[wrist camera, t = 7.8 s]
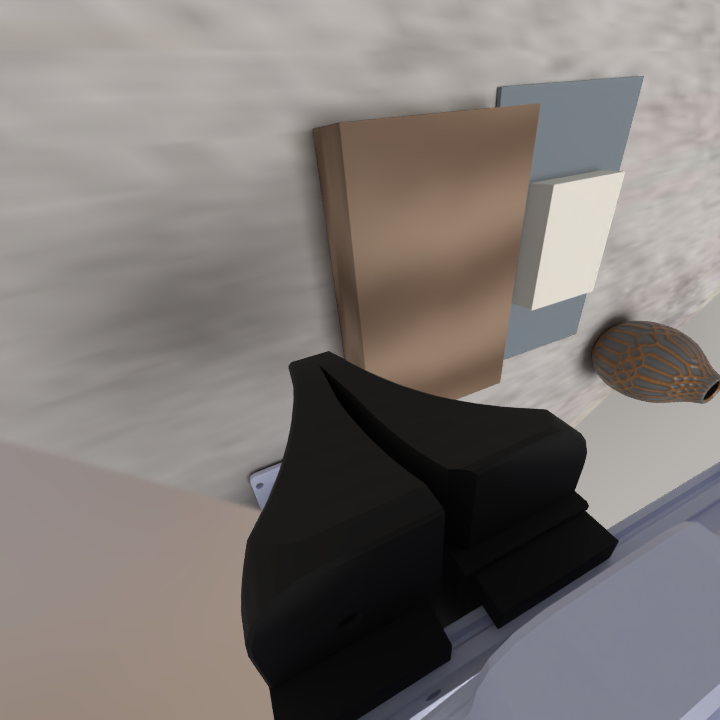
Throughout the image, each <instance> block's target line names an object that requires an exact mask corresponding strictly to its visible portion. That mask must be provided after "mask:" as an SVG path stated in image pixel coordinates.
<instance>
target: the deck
mask: <svg viewBox="0 0 720 720" xmlns="http://www.w3.org/2000/svg"><path fill="white" fill-rule="evenodd" d="M540 104H541V103H537V104H526V105H516V106H506V107H495V108H485V109H474V110H464V111H454V112H443V113H433V114H422V115H412V116H402V117H391V118H381V119H370V120H360V121H350V122H339V123H335V124H331V125H327V126H322V127H318V128H314V129H313V134H314V141H315V149H316V156H317V163H318V170H319V177H320V184H321V191H322V199H323V206H324V213H325V220H326V227H327V234H328V241H329V249H330V256H331V263H332V270H333V277H334V284H335V291H336V299H337V306H338V313H339V320H340V327H341V334H342V341H343V349H344V356H345V360H346V361H348V362H350V363H352V364H354V365H356V366H358V367H360V368H362V369H364V370H366V371H368V372H370V373H373V374H375V375H377V376H379V377H382V378H384V379H387V380H389V381H392V382H394V383H397V384H399V385H402V386H405V387H408V388H411V389H414V390H418V391H421V392H424V393H428V394H431V395H435V396H439V397H444V398H449V399H454V400H456V399H459V398H461V397H464V396H466V395H469V394H472V393H474V392H477V391H479V390H482V389H485V388H487V387H490V386H492V385H495V384H498V383H500V379H501V372H502V365H503V358H504V352H505V345H506V338H507V331H508V324H509V317H510V310H511V303H512V297H513V290H514V283H515V276H516V269H517V262H518V255H519V248H520V242H521V235H522V228H523V221H524V214H525V207H526V200H527V193H528V187H529V180H530V173H531V166H532V159H533V152H534V145H535V138H536V132H537V125H538V118H539V111H540Z"/></svg>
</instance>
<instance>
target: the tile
mask: <svg viewBox="0 0 720 720" xmlns="http://www.w3.org/2000/svg"><path fill="white" fill-rule="evenodd" d="M624 175H625V171H593V172H588V173H583V174H577V175H572V176H566V177H561V178H555V179H550V180H544V181H539V182H533V183H530V185H529V192H528V199H527V206H526V213H525V220H524V226H523V233H522V240H521V247H520V254H519V261H518V268H517V274H516V281H515V288H514V295H513V303H515V304H517V305H519V306H522V307H524V308H526V309H529V310H531V311H532V310H535V309H539V308H542V307H545V306H548V305H551V304H554V303H557V302H560V301H564V300H567V299H570V298H573V297H576V296H579V295H582V294H585V293H588V292H592V291H593V289H594V285H595V281H596V278H597V274H598V270H599V267H600V263H601V259H602V256H603V252H604V248H605V245H606V241H607V237H608V234H609V230H610V226H611V222H612V219H613V215H614V211H615V208H616V204H617V200H618V197H619V193H620V189H621V186H622V182H623V178H624Z"/></svg>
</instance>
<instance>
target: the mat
mask: <svg viewBox="0 0 720 720" xmlns="http://www.w3.org/2000/svg"><path fill="white" fill-rule="evenodd" d="M643 78H644V76H637V77H623V78H610V79H597V80H584V81H570V82H557V83H544V84H530V85H517V86H504V87H498V92H497V103H496V107H506V106H516V105H526V104H537V103H541V104H540V111H539V118H538V125H537V132H536V138H535V145H534V152H533V159H532V166H531V173H530V180H529V185H530V183H533V182H539V181H544V180H550V179H555V178H561V177H566V176H572V175H577V174H583V173H588V172H593V171H619V169H620V165H621V162H622V158H623V154H624V150H625V146H626V143H627V139H628V135H629V131H630V128H631V124H632V120H633V116H634V112H635V109H636V105H637V101H638V97H639V93H640V90H641V86H642V82H643ZM528 192H529V187H528ZM527 199H528V193H527ZM526 206H527V200H526ZM525 213H526V207H525ZM524 220H525V214H524ZM523 226H524V221H523ZM522 233H523V228H522ZM521 240H522V235H521ZM520 247H521V242H520ZM519 254H520V248H519ZM518 261H519V255H518ZM517 268H518V262H517ZM516 274H517V269H516ZM515 281H516V276H515ZM514 288H515V283H514ZM586 294H587V293H585V294H582V295H579V296H576V297H573V298H570V299H567V300H564V301H560V302H557V303H554V304H551V305H548V306H545V307H542V308H539V309H535V310H532V311H531V310H529V309H526V308H524V307H522V306H519V305H517V304H515V303H513V297H512V303H511V310H510V317H509V324H508V331H507V338H506V345H505V352H504V358H503V360H505V359H508V358H510V357H513V356H516V355H519V354H522V353H524V352H527V351H530V350H533V349H535V348H538V347H541V346H544V345H546V344H549V343H552V342H555V341H557V340H560V339H563V338H566V337H569V336H571V335H574V334H576V332H577V328H578V324H579V321H580V317H581V313H582V309H583V305H584V302H585V298H586ZM513 295H514V290H513Z"/></svg>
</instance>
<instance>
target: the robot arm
mask: <svg viewBox="0 0 720 720" xmlns="http://www.w3.org/2000/svg"><path fill="white" fill-rule="evenodd" d="M288 367H289V371H290V375H291V379H292V383H293V388H294V401H293V412H292V421H291V427H290V433H289V437H288V442H287V446H286V450H285V453H284V457H283V460H282V463H279V464H277V465H274V466H271V467H269V468H266V469H264V470H261V471H258V472H256V473H254V474H252V475H251V477H250V483H251V486H252V488H253V491H254V493H255V496H256V498H257V501H258V503H259V506H260V508H261V511H262V512H261V514H260V516H259V518H258V521H257V522H256V524H255V526H254V528H253V530H252V532H251V534H250V536H249V538H248V540H247V545H246V552H245V559H244V567H243V576H242V588H241V589H242V590H241V615H242V623H243V630H244V639H245V646H246V650H247V653H248V657H249V658H250V659H251V661H252V662H253V664H254V666H255V667H256V669H257V670H258V672H259V673H260V674H261V676H262V677H263V679H264V680H265V682H266V683H267V685H268V686H269V690H270V696H271V702H272V709H273V714H274V720H720V462H718V463H717V464H715V465H713V466H712V467H710V468H708V469H707V470H705V471H703V472H702V473H700V474H698V475H697V476H695V477H693V478H692V479H690V480H688V481H687V482H685V483H683V484H682V485H680V486H679V487H677V488H675V489H674V490H672V491H670V492H669V493H667V494H665V495H664V496H662V497H660V498H659V499H657V500H656V501H654V502H652V503H650V504H649V505H647V506H645V507H644V508H642V509H640V510H639V511H637V512H635V513H634V514H632V515H631V516H629V517H627V518H626V519H624V520H622V521H621V522H619V523H617V524H616V525H614V526H612V527H611V528H609V529H607V530H606V529H605V528H604V527H603V526H602V525H601V524H599V523H598V522H597V521H596V520H595V519H594V518H593V517H591V516H590V515H589V514H588V513H587V512H586V510H587V509H588V507H589V505H588V503H587V501H586V500H584V499H583V498H582V497H581V496H580V495H579V494H577V493H576V492H575V488H576V485H577V483H578V480H579V477H580V475H581V472H582V469H583V466H584V463H585V459H586V455H587V448H586V440H585V439H584V437H583V436H582V434H581V433H579V432H578V431H577V430H575V429H574V428H572V427H571V426H569V425H568V424H567V423H565V422H564V421H562V420H561V419H559V418H558V417H556V416H555V415H554V414H552V413H551V412H549V411H548V410H545V409H529V408H513V407H500V406H492V405H484V404H476V403H470V402H464V401H458V400H454V399H449V398H444V397H439V396H435V395H431V394H428V393H424V392H421V391H418V390H414V389H411V388H408V387H405V386H402V385H399V384H397V383H394V382H392V381H389V380H387V379H384V378H382V377H379V376H377V375H375V374H373V373H370V372H368V371H366V370H364V369H362V368H360V367H358V366H356V365H354V364H352V363H350V362H348V361H346V360H345V359H343V358H341V357H339V356H337V355H335V354H333V353H331V352H329V351H328V352H324V353H321V354H317V355H314V356H311V357H307V358H304V359H301V360H297V361H294V362H291V363H290V365H289V366H288ZM259 483H261V484H259ZM257 484H259V485H257Z"/></svg>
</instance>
